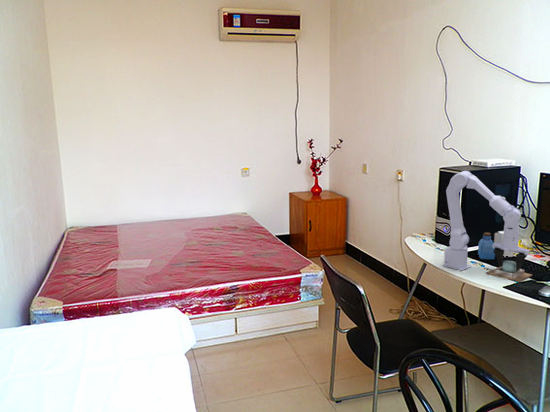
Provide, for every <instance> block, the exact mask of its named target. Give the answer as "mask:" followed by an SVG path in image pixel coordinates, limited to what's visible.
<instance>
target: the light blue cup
mask: <svg viewBox="0 0 550 412" xmlns="http://www.w3.org/2000/svg"><path fill="white" fill-rule="evenodd" d="M516 265H517V261H513V260H503V264H502V266H503V271H504V272H508V273H512V274H514V273H516Z"/></svg>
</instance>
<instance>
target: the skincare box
mask: <svg viewBox="0 0 550 412" xmlns="http://www.w3.org/2000/svg"><path fill="white" fill-rule="evenodd" d="M497 233H498V244H503V237H504V230H500V231H497ZM503 256H504V257H503V258H510V257H511V258H512V257H514V252H511V251H507V250H504V255H503ZM506 256H508V257H506Z"/></svg>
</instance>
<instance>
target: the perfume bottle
mask: <svg viewBox="0 0 550 412" xmlns="http://www.w3.org/2000/svg"><path fill="white" fill-rule="evenodd" d="M491 234H492V233H491V232H483V235H482V238H481V239H480V240H479V242H478V245H477V246H478V247H477V255H479V256H478V257H479V259H480V260H495V258H496V255H495V253H494V250H495V248H492V247H493V244H494V240H492V239H491V238H492V236H491Z"/></svg>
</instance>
